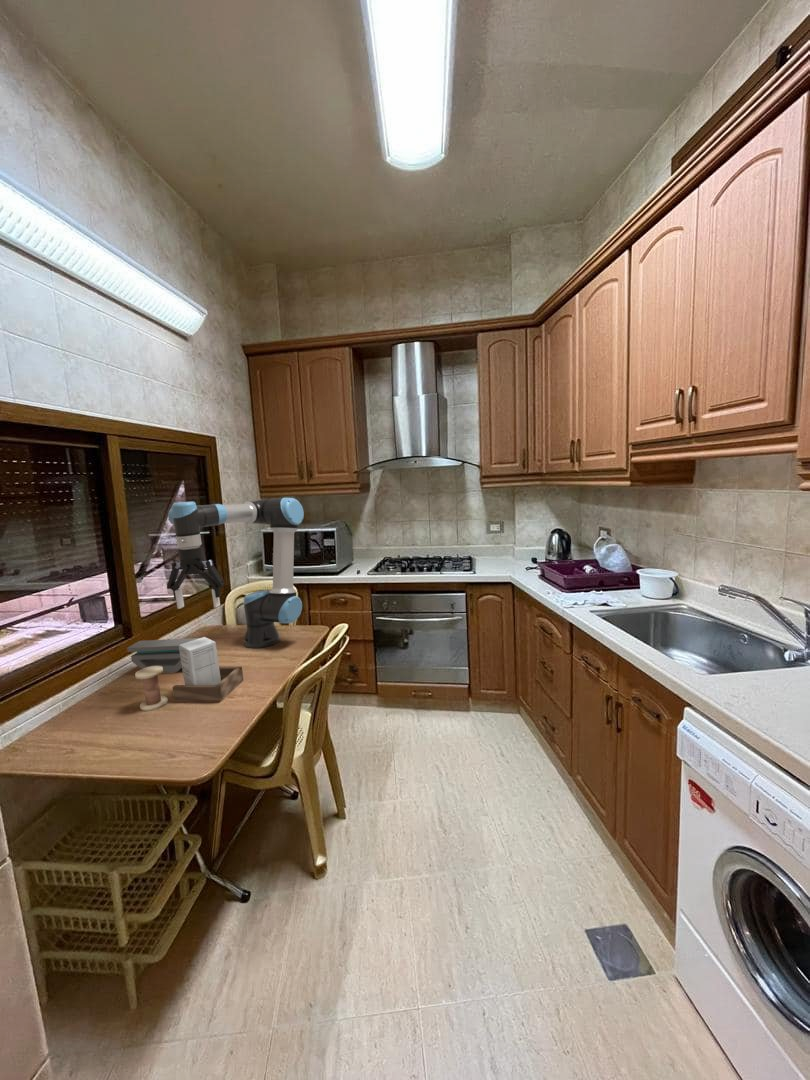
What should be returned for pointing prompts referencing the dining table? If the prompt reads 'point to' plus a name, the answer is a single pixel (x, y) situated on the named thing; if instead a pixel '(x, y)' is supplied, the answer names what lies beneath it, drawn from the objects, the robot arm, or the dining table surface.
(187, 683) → the supplement box
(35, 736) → the dining table surface
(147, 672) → the bobbin post
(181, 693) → the open wooden tray
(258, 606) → the robot arm
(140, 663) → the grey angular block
